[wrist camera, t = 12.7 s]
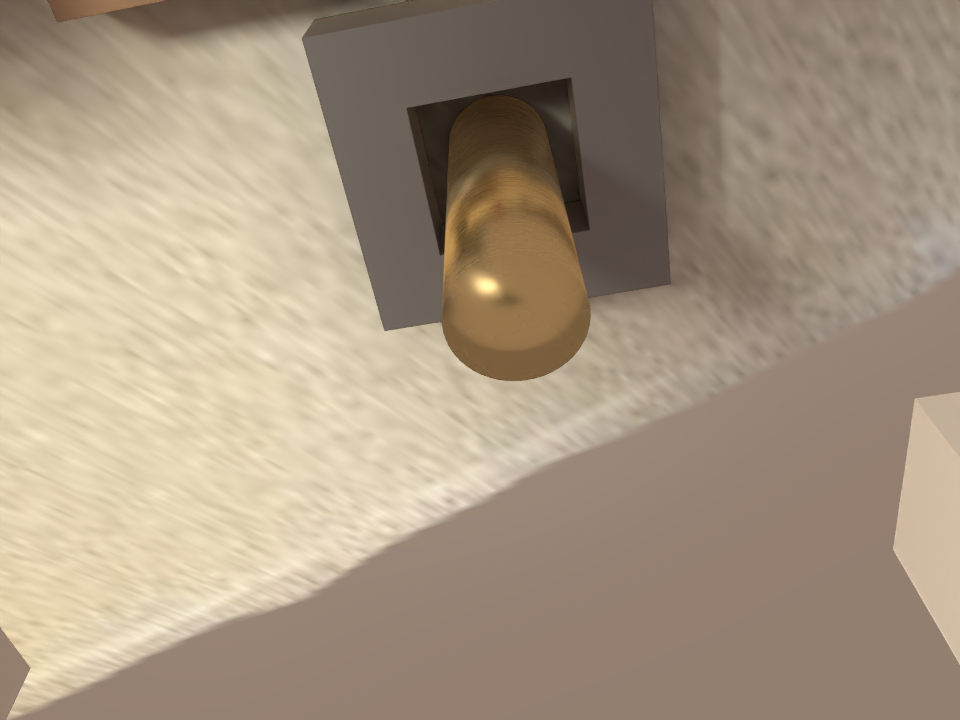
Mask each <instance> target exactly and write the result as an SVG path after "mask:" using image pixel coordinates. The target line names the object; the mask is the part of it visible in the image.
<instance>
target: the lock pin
mask: <svg viewBox="0 0 960 720" xmlns="http://www.w3.org/2000/svg"><path fill="white" fill-rule="evenodd" d="M589 325H590V305H589V300H588V296H587V292H586V288H585V284H584V280H583V276H582V272H581V268H580V264H579V260H578V256H577V252H576V248H575V244H574V240H573V236H572V232H571V228H570V224H569V220H568V216H567V212H566V208H565V204H564V200H563V196H562V192H561V188H560V184H559V180H558V176H557V172H556V168H555V164H554V160H553V156H552V152H551V148H550V144H549V140H548V136H547V132H546V129H545V126H544V123H543V121H542V120H541V118H540V116H539V115H538V113H537V112H536V111H535V110H534V109H533V108H532V107H531V106H529V105H528V104H527V103H525V102H523V101H522V100H519V99H517V98H514V97H511V96H505V95H494V96H488V97H484V98H481V99H479V100H477V101H475V102H473V103H471V104H470V105H469V106H467V107H466V108H465V109H464V110H463V111H462V112H461V113H460V114H459V116H458V117H457V119H456V120H455V122H454V124H453V127H452V129H451V133H450V138H449V156H448V181H447V205H446V229H445V253H444V277H443V301H442V327H443V332H444V335H445V339H446V341H447V343H448V345H449V347H450V349H451V350H452V352H453V353H454V354H455V355H456V357H457V358H458V359H459V360H460V361H461V362H462V363H464V364H465V365H466V366H467V367H469V368H470V369H472V370H473V371H475V372H477V373H479V374H481V375H484V376H487V377H490V378H494V379H498V380H505V381H522V380H529V379H534V378H538V377H541V376H544V375H546V374H549V373H551V372H553V371H555V370H556V369H558V368H560V367H561V366H563V365H564V364H565V363H566V362H568V361H569V360H570V359H571V358H572V357H573V356H574V355H575V354H576V352H577V351H578V350H579V349H580V347H581V345H582V344H583V342H584V340H585V338H586V335H587V333H588V329H589Z"/></svg>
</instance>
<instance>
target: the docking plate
mask: <svg viewBox="0 0 960 720" xmlns="http://www.w3.org/2000/svg"><path fill="white" fill-rule="evenodd" d="M302 41H303V44H304V48H305V51H306V55H307V58H308V62H309V65H310V69H311V73H312V76H313V80H314V83H315V87H316V90H317V94H318V97H319V101H320V104H321V108H322V111H323V115H324V119H325V122H326V126H327V129H328V133H329V136H330V140H331V143H332V147H333V150H334V154H335V157H336V161H337V165H338V168H339V172H340V175H341V179H342V182H343V186H344V189H345V193H346V196H347V200H348V204H349V207H350V211H351V214H352V218H353V221H354V225H355V228H356V232H357V235H358V239H359V242H360V246H361V250H362V253H363V257H364V260H365V264H366V267H367V271H368V274H369V278H370V281H371V285H372V288H373V292H374V296H375V299H376V303H377V306H378V310H379V313H380V317H381V320H382V324H383V327H384V331H388V330H394V329H400V328H406V327H412V326H418V325H424V324H430V323H437V322H442V301H443V277H444V253H445V229H446V224H441V219H440V215H439V210H438V206H437V201H436V197H435V192H434V188H433V183H432V179H431V174H430V170H429V165H428V161H427V156H426V152H425V147H424V143H423V138H422V134H421V129H420V125H419V120H418V116H417V111H416V107H415V106H420V105H425V104H431V103H436V102H441V101H447V100H452V99H458V98H463V97H468V96H474V95H479V94H484V93H490V92H495V91H501V90H506V89H511V88H517V87H522V86H528V85H533V84H538V83H544V82H549V81H554V80H560V79H565V78H566V82H567V90H568V98H569V106H570V115H571V123H572V131H573V139H574V147H575V155H576V163H577V172H578V180H579V188H580V196H581V200H580V201H574V202H569V203H564V204H565V208H566V212H567V216H568V220H569V224H570V228H571V232H572V236H573V240H574V244H575V248H576V252H577V256H578V260H579V264H580V268H581V272H582V276H583V280H584V284H585V288H586V292H587V296H588V298H589V297H595V296H602V295H608V294H614V293H620V292H626V291H632V290H638V289H644V288H650V287H656V286H663V285H669V284H671V281H670V266H669V250H668V235H667V219H666V204H665V189H664V173H663V158H662V142H661V127H660V112H659V96H658V81H657V65H656V50H655V34H654V19H653V4H652V0H412V1H407V2H402V3H397V4H392V5H387V6H382V7H377V8H371V9H366V10H361V11H356V12H351V13H346V14H341V15H336V16H331V17H326V18H321V19H315V20H314V21H313V23H312V24H311V26H310V27H309V29H308V30H307V31H306V33H305V34H304V36H303V37H302Z"/></svg>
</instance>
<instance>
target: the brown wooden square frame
mask: <svg viewBox="0 0 960 720" xmlns="http://www.w3.org/2000/svg"><path fill="white" fill-rule="evenodd" d="M161 1H166V0H48V2H49V4H50V7H51V9H52V11H53V14H54V16H55V18H56V21H57V22H61V21H66V20H71V19H76V18H81V17H86V16H91V15H96V14H101V13H106V12H111V11H116V10H121V9H126V8H131V7H136V6H141V5H146V4H151V3H156V2H161Z"/></svg>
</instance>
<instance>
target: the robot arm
mask: <svg viewBox="0 0 960 720" xmlns="http://www.w3.org/2000/svg"><path fill="white" fill-rule="evenodd" d="M893 550H894V552H895V554H896V555H897V557H898V559H899V560H900V562H901V564H902V566H903V567H904V569H905V571H906V573H907V574H908V576H909V577H910V579H911V581H912V583H913V584H914V586H915V588H916V590H917V592H918V593H919V595H920V597H921V598H922V600H923V602H924V604H925V605H926V607H927V609H928V610H929V612H930V614H931V616H932V617H933V619H934V621H935V622H936V624H937V626H938V628H939V629H940V631H941V633H942V635H943V636H944V638H945V640H946V642H947V643H948V645H949V647H950V648H951V650H952V652H953V654H954V655H955V657H956V659H957V661H958V662H959V664H960V392H955V393H948V394H942V395H935V396H928V397H921V398H915V401H914V408H913V415H912V422H911V429H910V436H909V443H908V450H907V457H906V464H905V470H904V477H903V485H902V492H901V498H900V505H899V512H898V520H897V527H896V533H895V540H894V547H893ZM29 670H30V667H29V665H28V664H27V663H26V661H25V660H24V659H23V657H22V656H21V655H20V653H19V652H18V651H17V649H16V648H15V647H14V645H13V644H12V643H11V641H10V640H9V639H8V637H7V636H6V634H5V633H4V632H3V630H2V629H1V628H0V720H6V719H7V717H8V714H9V712H10V710H11V708H12V706H13V704H14V702H15V700H16V698H17V695H18V693H19V691H20V689H21V687H22V685H23V683H24V681H25V679H26V677H27V674H28V672H29Z"/></svg>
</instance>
